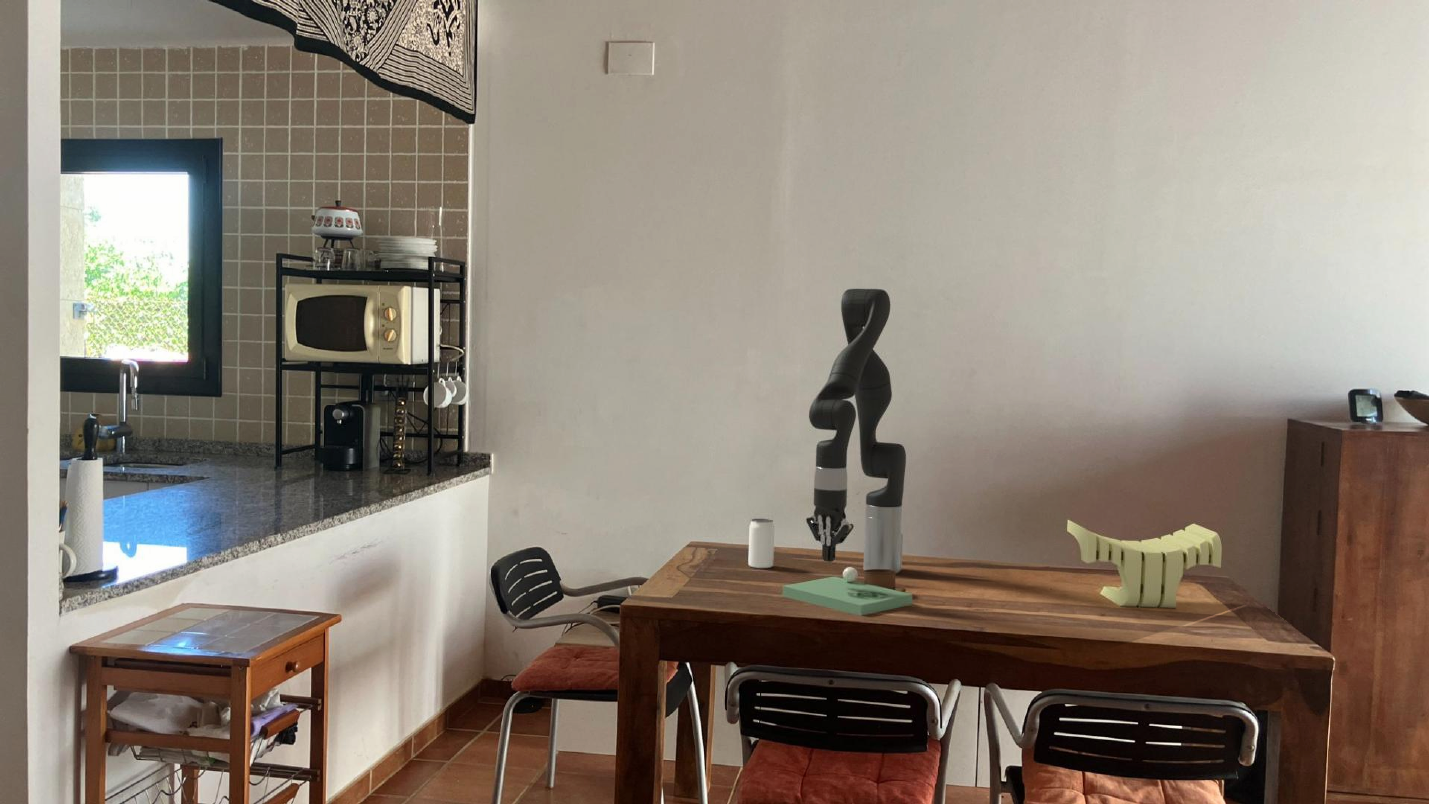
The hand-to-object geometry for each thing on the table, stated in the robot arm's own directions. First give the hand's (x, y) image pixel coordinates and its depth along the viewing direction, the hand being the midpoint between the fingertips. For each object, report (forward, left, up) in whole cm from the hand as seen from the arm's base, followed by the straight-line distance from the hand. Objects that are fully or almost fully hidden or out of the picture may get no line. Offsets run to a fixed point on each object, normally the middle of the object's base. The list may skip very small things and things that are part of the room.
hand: (828, 560), depth 257 cm
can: (-12, -33, -8) cm, 36 cm away
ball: (-7, +1, -4) cm, 8 cm away
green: (0, +6, -8) cm, 10 cm away
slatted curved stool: (-56, +48, -8) cm, 74 cm away
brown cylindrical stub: (-12, +6, -9) cm, 16 cm away
